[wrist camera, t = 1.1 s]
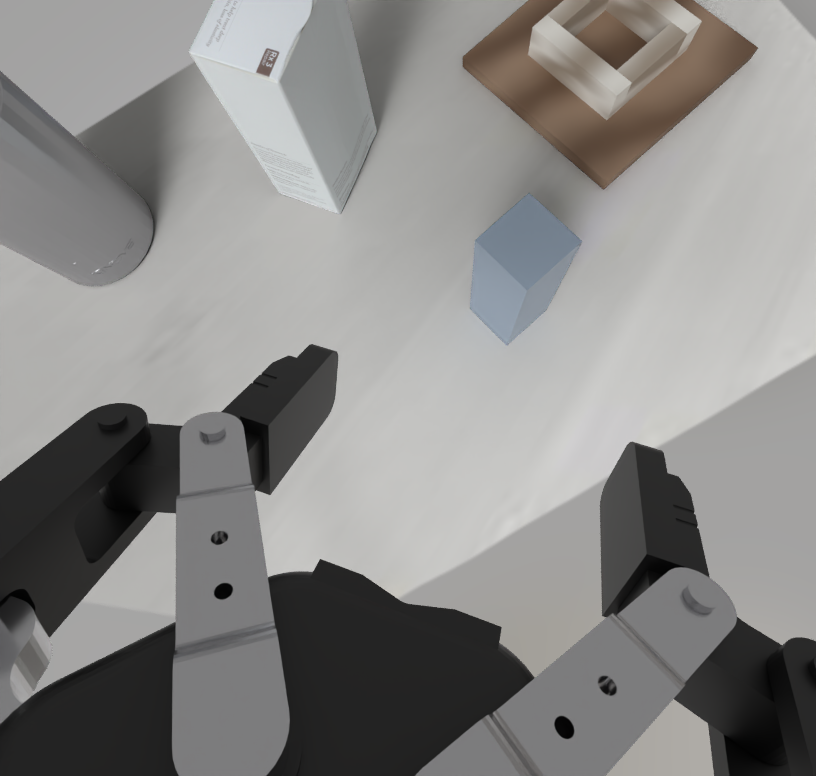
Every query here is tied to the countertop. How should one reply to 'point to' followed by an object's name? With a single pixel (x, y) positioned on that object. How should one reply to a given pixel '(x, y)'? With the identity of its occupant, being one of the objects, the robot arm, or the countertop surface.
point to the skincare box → (292, 91)
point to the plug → (520, 267)
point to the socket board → (607, 73)
